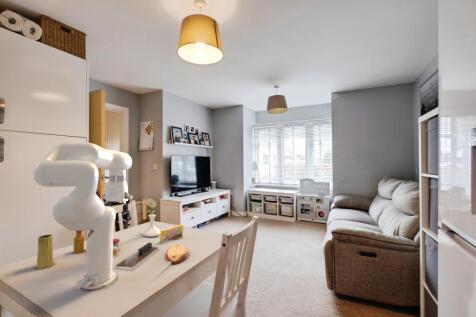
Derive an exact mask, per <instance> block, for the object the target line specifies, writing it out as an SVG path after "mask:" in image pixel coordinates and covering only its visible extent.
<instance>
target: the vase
mask: <svg viewBox="0 0 476 317" xmlns="http://www.w3.org/2000/svg"><path fill="white" fill-rule="evenodd" d="M53 239H54V238H53V234H43V235H40V236H38V237H37V255H36V267H35V268H36V269H38V270H44V269H47V268H50V267H52V266H53V265H54V252H53V251H54V249H53V248H54V247H53Z"/></svg>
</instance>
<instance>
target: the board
mask: <svg viewBox="0 0 476 317" xmlns="http://www.w3.org/2000/svg"><path fill="white" fill-rule="evenodd" d="M158 249H159V247H158V246H152V248H151V249H150V250H149V251H147V252H146V253H144V254H143V255H142V256H139V257H137V258H136V259H134V260H133V261H132V262H130V263H129V264H127V265H125V259H127V258H128V257H130V256H131V255H133V254H134V253H136V252H137V251H135V252H134V253H133V254H131V255H129V256H128V257H126V258H125V259H123V260H122V261H120V262H119V263H117V264H115V267H121V268H130V269H132V268H134V267H135V266H137V265H138V264H139V263H141V262H142V261H143V260H145V259H146V258H147V257H149V256H150V255H151V254H153V253H154V252H155V251H157V250H158Z"/></svg>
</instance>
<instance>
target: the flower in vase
mask: <svg viewBox="0 0 476 317" xmlns="http://www.w3.org/2000/svg"><path fill="white" fill-rule="evenodd" d="M144 203H145V204H146V205H147V206H148V209H145V210H144V213H149V214H148V215H147V216H148V217H149V220H150V223H149V227H147V228H146V229H145V230H144V231H143V233H142V235H143V236H144V237H146V238H153V237H154V238H155V237H157V236H160V232H161V229H159V228H158V227H157V226H155V218H156V216H157V214H154V213H155V212H156V209H155V210H153V211H150V210H151V209H150V208H156V207H157V201H156V200H155V199H153V198H147V199H145V202H144Z"/></svg>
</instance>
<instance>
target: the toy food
mask: <svg viewBox="0 0 476 317" xmlns="http://www.w3.org/2000/svg"><path fill="white" fill-rule="evenodd" d="M93 232H94V230H89V232H88V234H87V239H88V238H89V237H90V235H91V234H92V233H93ZM120 246H121V240H120V238H113V256H116V255H117V254H118V251H119V250H120V249H121V247H120ZM84 247H85V237H84V236H83V230H75V237H74V238H73V250H72V251H73V253H75V254H80V253H82V252H83V251H84V249H85V248H84Z"/></svg>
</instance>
